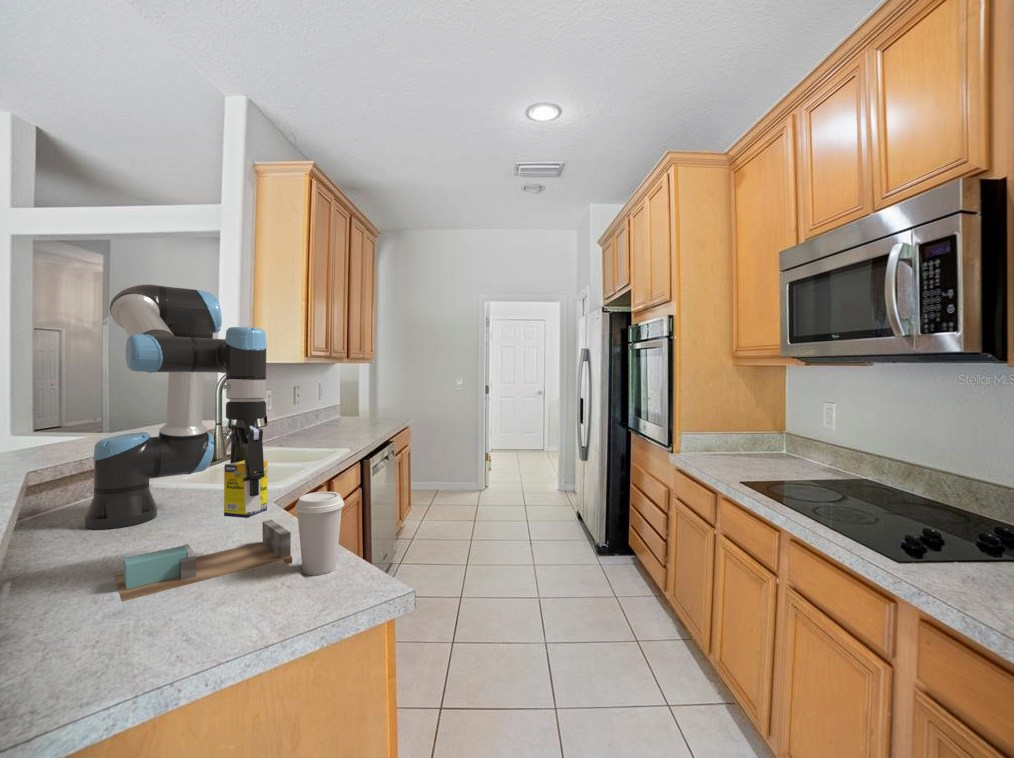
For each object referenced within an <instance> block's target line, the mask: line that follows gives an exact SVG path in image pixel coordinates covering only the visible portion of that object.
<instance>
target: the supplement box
mask: <svg viewBox="0 0 1014 758" xmlns="http://www.w3.org/2000/svg"><path fill="white" fill-rule="evenodd" d="M223 465H224V466H223V467H224V468H223V469H224V470H223V471H224V478H223V480H224V481H223V487H224V488H223V517H230V518H241V519H249V518H250V517H254V516H256V515H258V514H260V513H264V512H267V511H268V461H267V460H264V474H265V475H264V477H262V478H261V479H260V510H258V511H253V512H247V513H246V512H245V481H243V479H244V478H246V477H247V476H246V468H245V460H243V461H239V462H235V463H231V464H230V463H226V464H223ZM254 473H255V472H254Z"/></svg>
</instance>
